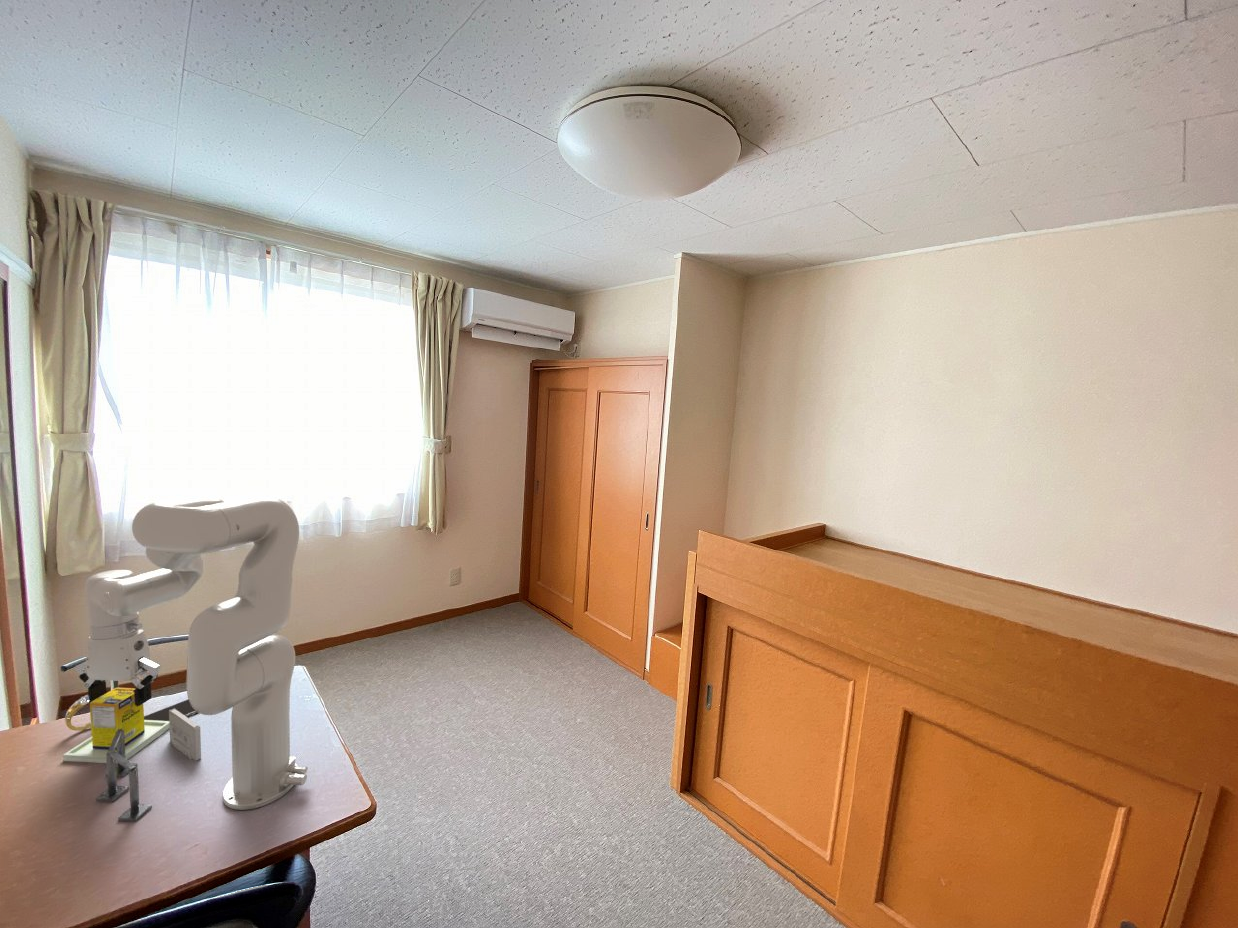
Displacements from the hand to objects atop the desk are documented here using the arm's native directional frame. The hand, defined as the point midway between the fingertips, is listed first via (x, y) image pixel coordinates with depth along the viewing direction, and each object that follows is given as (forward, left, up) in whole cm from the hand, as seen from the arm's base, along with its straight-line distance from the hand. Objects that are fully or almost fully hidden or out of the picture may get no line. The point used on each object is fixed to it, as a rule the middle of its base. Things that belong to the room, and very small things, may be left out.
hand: (121, 701), depth 108 cm
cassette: (-14, +1, -10) cm, 18 cm away
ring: (+12, -4, -10) cm, 16 cm away
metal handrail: (-13, +13, -10) cm, 21 cm away
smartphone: (-2, -10, -11) cm, 15 cm away
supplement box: (+1, 0, -10) cm, 10 cm away
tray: (+1, 0, -10) cm, 10 cm away
